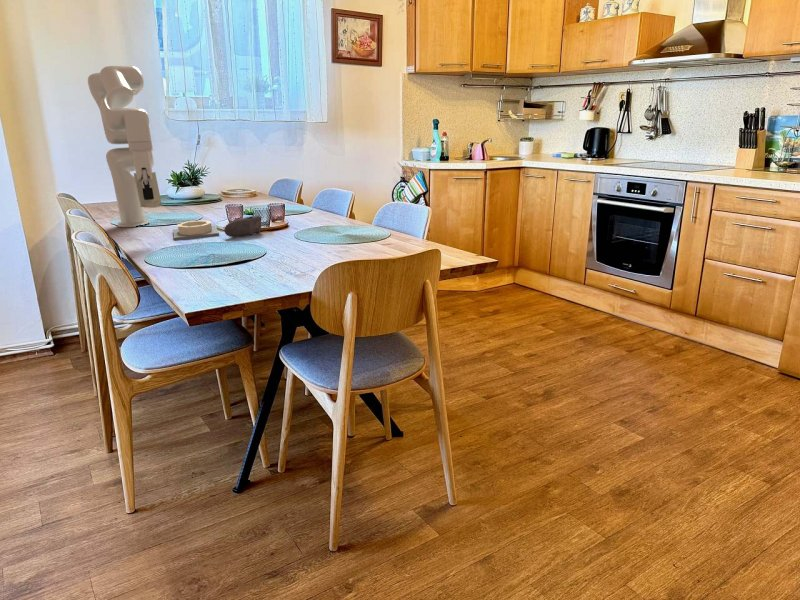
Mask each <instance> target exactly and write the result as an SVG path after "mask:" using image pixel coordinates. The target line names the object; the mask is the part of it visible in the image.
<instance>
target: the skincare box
mask: <svg viewBox="0 0 800 600" xmlns="http://www.w3.org/2000/svg"><path fill="white" fill-rule="evenodd" d="M146 173H147V172H146ZM133 176H134V177H135V182H136V187H137V192H138V197H139V202H140V207H143V208H149V209H150V208H153V209H154V208H159V207H161V206H163V204H162V199H161V195H160V190H159V184H158V179H157V175H156V171H152V180H150V182H151V188H152V190H153V196H154V199H152V200H144V196H143V190H142V188H143V186H142V179H139V181H138V180H137V176H136V172H133ZM142 178H143V177H142ZM147 179H149V177H148V174H147Z"/></svg>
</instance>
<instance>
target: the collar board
mask: <svg viewBox="0 0 800 600" xmlns="http://www.w3.org/2000/svg"><path fill="white" fill-rule="evenodd" d="M172 232H173V239H174V241H181V240H180V239H183V240H190V239H189V238H192V239H199V238H198V237H202V238H208V237H209V238H210V237H211V238H212V237H218V236H220V232H219V231H218V229H217V227H216V225H212V222H211V221H210V220H190V221H189V220H188V221H185V222H181V223H177V228H176V229H172Z"/></svg>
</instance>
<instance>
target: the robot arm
mask: <svg viewBox="0 0 800 600" xmlns="http://www.w3.org/2000/svg"><path fill="white" fill-rule="evenodd" d="M87 84H88V88H89V91H90V94H91V96H92V98H93V100H94V101H95V103H96V104H97V107H98V109H99V112H100V116H101V122H102V125H103V130H104V135H105V138H106V140H107V142H108V143H110V144H112V145H128V146H127V147H115V148H111V149H109V150H108V151H107V152H106V155H105V159H106V163H107V165H108V169H109V171H110V175H111V179H112V183H113V187H114V193H115V198H116V202H117V209H118V213H119V218H120V221H119V222H118V223H116V224H117V227H118V228H137V227H136V225H141V224H146V223H148V222H150V223H151V221H150V219H147V218H146V216H145V210H144V207H140V202H139V197H138V192H137V187H136V182H135V177H134V174H133V175H132V173H131V172H135V173H136V176H137V180H138V181H139V179H142V186H143V188H142V190H143V196H144V200H152V199H154V196H153V190H152V188H151V182H150V180H152V172H153V167H154V165H155V164H154V156H153V151H154V149H153V142H152V137H151V131H150V118H149V114H148V112H147V111H146V110H145V109H143V108H142V107H141V108H139V107H127V106H129V105H130V104H131V103H132V102H133V100H134V96H137V95H138V94H139V93H140V92H141V91H142V90H143V88H144V85H145V84H144V77H143V73H142V72H141V70H140V69H139V68H138V67H136V66H133V65H108V66H104V67H103V68H101V70H100V71H99V72H95V73H91V74H89V76H88V77H87ZM126 107H127V108H126ZM146 172H147V173H146ZM147 174H148V177H149V179H147ZM142 177H143V178H142Z"/></svg>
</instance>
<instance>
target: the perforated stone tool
mask: <svg viewBox="0 0 800 600" xmlns="http://www.w3.org/2000/svg"><path fill="white" fill-rule="evenodd" d="M262 223H263V222H262V217H261V215H255V216H247V217H242V218H239V219H235V220H232V221H230V222H229V223H227V224H226V225H225V226H224V234H225V235H226V236H228V237H229V238H238V237H239V238H240V237H241V238H242V237H250V236H253V235H258V234H260V233H261V231H262Z"/></svg>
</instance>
